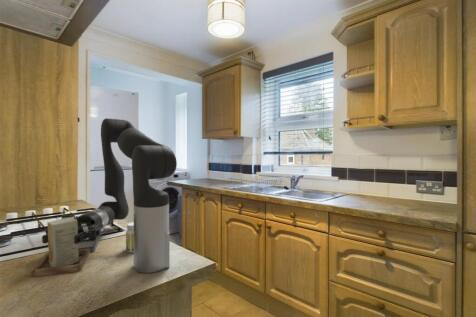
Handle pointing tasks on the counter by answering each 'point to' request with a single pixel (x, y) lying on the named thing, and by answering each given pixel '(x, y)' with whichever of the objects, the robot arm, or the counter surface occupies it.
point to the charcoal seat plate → (89, 244)
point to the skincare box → (62, 242)
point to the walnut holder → (42, 271)
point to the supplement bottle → (130, 237)
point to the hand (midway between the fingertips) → (59, 240)
